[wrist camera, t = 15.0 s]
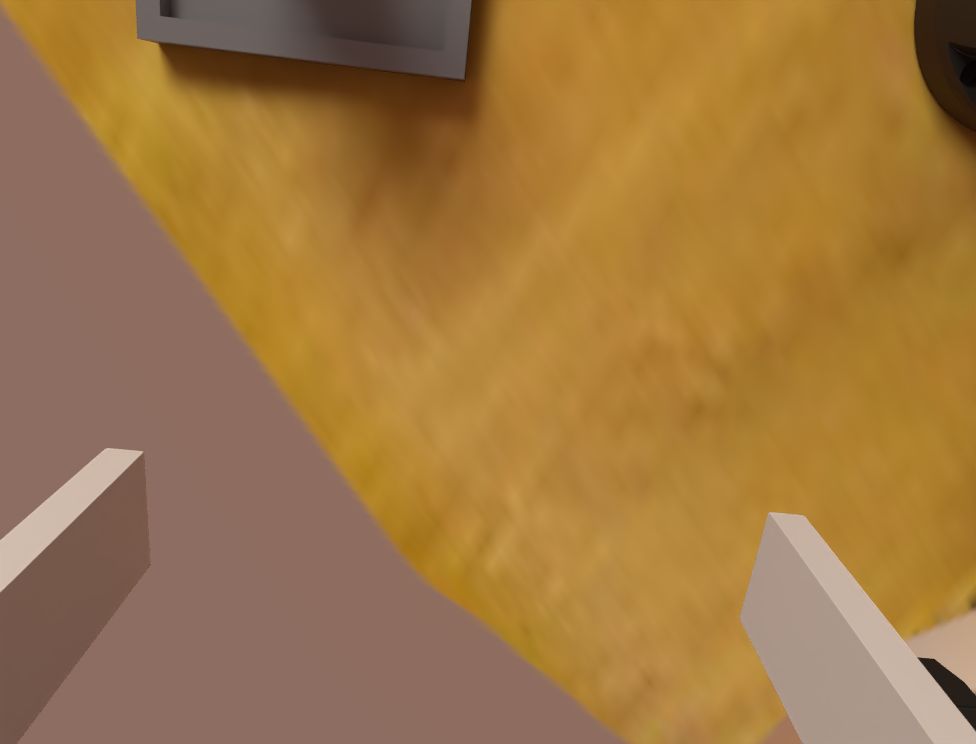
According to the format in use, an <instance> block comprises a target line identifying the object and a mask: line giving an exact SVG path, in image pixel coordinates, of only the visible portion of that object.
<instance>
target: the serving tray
mask: <svg viewBox="0 0 976 744" xmlns="http://www.w3.org/2000/svg"><path fill="white" fill-rule="evenodd" d="M472 2H473V0H136V16H137V39H141V40H146V41H150V42H155V43H160V44H168V45H176V46H184V47H192V48H200V49H208V50H216V51H224V52H232V53H240V54H248V55H257V56H265V57H273V58H281V59H289V60H297V61H305V62H313V63H321V64H329V65H337V66H345V67H353V68H361V69H369V70H377V71H385V72H394V73H402V74H410V75H418V76H426V77H434V78H442V79H450V80H458V81H465V74H466V64H467V54H468V43H469V33H470V23H471V12H472Z"/></svg>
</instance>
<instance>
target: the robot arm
mask: <svg viewBox="0 0 976 744" xmlns="http://www.w3.org/2000/svg"><path fill="white" fill-rule="evenodd" d="M915 40H916V48H917V54H918V59H919V62H920V66H921V69H922V72H923V75H924V77H925V80H926V82H927V84H928V86H929V88H930V90H931V91H932V93H933V95H934V96H935V98H936V99H937V100H938V102H939V103H940V104H941V105H942V107H943V108H944V109H945V110H946V111H947V112H948V113H949V114H950V115H951V116H952V117H954V118H955V119H956V120H957V121H959V122H960V123H962V124H963V125H965V126H966V127H968V128H970V129H972V130H974V131H976V0H917V1H916V9H915ZM149 566H150V548H149V532H148V513H147V495H146V477H145V461H144V452H142V451H132V450H122V449H112V448H106V449H105V450H103V451H102V452H101V453H100V454H99V455H98V456H97V457H95V458H94V459H93V460H92V461H91V462H90V463H88V464H87V466H85V467H84V468H83V469H82V470H81V471H79V472H78V473H77V474H76V475H75V476H74V477H72V478H71V479H70V480H69V481H68V482H67V483H66V484H65V485H63V486H62V487H61V488H60V489H59V490H58V491H57V492H55V493H54V494H53V495H52V496H51V497H50V498H48V499H47V500H46V501H45V502H44V503H43V504H42V505H40V506H39V507H38V508H37V509H36V510H35V511H34V512H32V513H31V514H30V515H29V516H28V517H27V518H25V519H24V520H23V521H22V522H21V523H20V524H19V525H17V526H16V527H15V528H14V529H13V530H12V531H11V532H9V533H8V534H7V535H6V536H5V537H4V538H3V539H2V540H0V744H17V743H18V741H19V740H20V738H21V737H22V736H23V735H24V733H25V732H26V731H27V729H28V728H29V726H30V725H31V724H32V723H33V721H34V720H35V719H36V717H37V716H38V715H39V713H40V712H41V711H42V709H43V708H44V707H45V705H46V704H47V703H48V701H49V700H50V699H51V697H52V696H53V695H54V693H55V692H56V691H57V689H58V688H59V687H60V685H61V684H62V683H63V681H64V680H65V679H66V677H67V676H68V675H69V673H70V672H71V670H72V669H73V668H74V667H75V665H76V664H77V663H78V661H79V660H80V659H81V657H82V656H83V655H84V653H85V652H86V651H87V649H88V648H89V647H90V645H91V644H92V643H93V641H94V640H95V639H96V637H97V636H98V635H99V633H100V632H101V631H102V629H103V628H104V626H105V625H106V624H107V622H108V621H109V620H110V619H111V617H112V616H113V614H114V613H115V612H116V611H117V609H118V608H119V606H120V605H121V604H122V602H123V601H124V600H125V598H126V597H127V596H128V594H129V593H130V592H131V590H132V589H133V588H134V586H135V585H136V584H137V582H138V581H139V580H140V578H141V577H142V576H143V574H144V573H145V572H146V570H147V569H148V568H149ZM740 620H741V622H742V624H743V626H744V628H745V630H746V632H747V634H748V636H749V638H750V640H751V642H752V644H753V646H754V648H755V650H756V652H757V654H758V656H759V658H760V660H761V662H762V664H763V666H764V668H765V670H766V672H767V674H768V676H769V678H770V680H771V682H772V684H773V686H774V688H775V690H776V692H777V694H778V696H779V698H780V700H781V702H782V704H783V706H784V708H785V710H786V712H787V714H788V716H789V718H790V720H791V722H792V724H793V726H794V727H795V730H796V732H797V734H798V736H799V738H800V740H801V742H802V743H803V744H976V696H975V694H974V693H973V692H972V691H971V690H970V688H969V687H968V686H967V685H966V684H965V683H964V682H963V681H962V680H961V679H959V678H958V677H957V676H956V675H954V674H953V673H952V672H950V671H949V670H947V669H946V668H945V667H944V666H942V665H941V664H940V663H939V662H937V661H936V660H935V659H929V658H918V657H916V656H915V655H914V653H913V652H912V651H911V650H910V648H909V647H908V646H907V644H906V643H905V642H904V641H903V639H902V638H901V637H900V636H899V634H898V633H897V632H896V631H895V629H894V628H893V627H892V625H891V624H890V623H889V622H888V620H887V619H886V618H885V617H884V615H883V614H882V613H881V612H880V610H879V609H878V608H877V607H876V605H875V604H874V603H873V602H872V600H871V599H870V598H869V597H868V595H867V594H866V593H865V592H864V590H863V589H862V588H861V586H860V585H859V584H858V583H857V581H856V580H855V579H854V578H853V576H852V575H851V574H850V573H849V571H848V570H847V569H846V568H845V566H844V565H843V564H842V563H841V561H840V560H839V559H838V558H837V556H836V555H835V554H834V553H833V551H832V550H831V549H830V547H829V546H828V545H827V544H826V542H825V541H824V540H823V539H822V537H821V536H820V535H819V534H818V532H817V531H816V530H815V529H814V527H813V526H812V525H811V524H810V522H809V521H808V520H807V519H806V517H805V516H804V515H794V514H784V513H773V512H769V513H768V517H767V521H766V524H765V528H764V532H763V535H762V539H761V542H760V546H759V550H758V553H757V557H756V561H755V564H754V568H753V572H752V575H751V579H750V582H749V586H748V590H747V593H746V597H745V601H744V604H743V608H742V611H741V615H740Z"/></svg>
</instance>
